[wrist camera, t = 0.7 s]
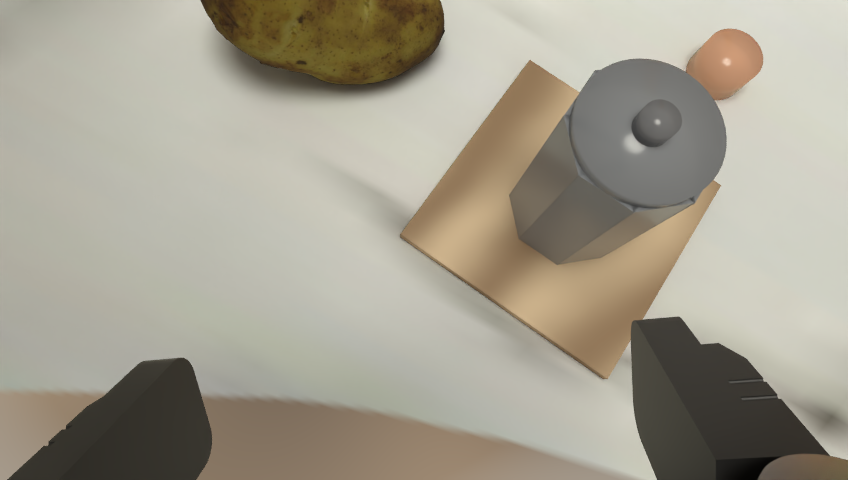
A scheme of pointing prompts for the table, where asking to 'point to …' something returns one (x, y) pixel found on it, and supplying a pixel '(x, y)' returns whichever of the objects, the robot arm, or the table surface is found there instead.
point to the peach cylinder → (726, 62)
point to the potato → (333, 35)
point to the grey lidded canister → (619, 161)
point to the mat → (518, 262)
